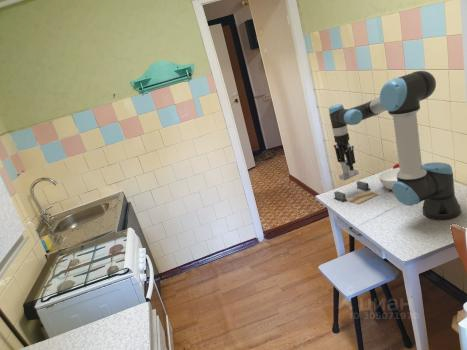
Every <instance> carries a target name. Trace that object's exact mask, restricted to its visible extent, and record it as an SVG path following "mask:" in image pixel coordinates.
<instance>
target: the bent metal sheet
mask: <svg viewBox="0 0 467 350" xmlns="http://www.w3.org/2000/svg"><path fill="white" fill-rule="evenodd" d="M341 164H342V166H341V169H342V174H339V175H338V178H339V180H343V181H346V180H349V179H351V178H353V177H355V176H357V175H359V174H360V172H359V170H357V169H354V170H353V171H354V175H353V176H351V177H350V176H349V171H348V166H347V165H348V162H347V159H345V160H344V161H342V162H341V163H340V165H341Z"/></svg>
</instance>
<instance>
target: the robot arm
mask: <svg viewBox="0 0 467 350" xmlns="http://www.w3.org/2000/svg"><path fill="white" fill-rule="evenodd" d="M436 85H437V81H436V78H435V76H433V74H432V73H430V72H428V71H425V70H418V71H417V70H416V71H413V72H410V73H407V74H404V75H402V76H398V77H394V78H392V79H391V80H389V81H388V80H387V82H385V83H384V84H383V86H382V87H381V89H380V92H379V96H378V97H376V98H374V99H372V100H370V101H367V102H365V103H362V104H360V105H356V106H354V107H350V108H346V109H345V107H344V105H343V104H342V103H338V104H334V105H331V106H330V107H329V108H328V113H329V119H330V125H331V128H332V135H333V138H334V142H335V143H336V144H333V148H334V151H335V155H336V158H337V162H338V163H340V165H341V166H340V167H342V164H341V162H342V161H344V160H347V162H348V165H347V166H348V171H349V176H350V177H351V176H353V175H354V171H353V170H355V169H354V164H356V159H355V152H354V151H355V150H354V149H355V146H354V145H350V143H349V140H350V135H349V132H348V131H349V129H348V126H356V125H359V124H360V123H361V122H362V121H365V120H366V119H370V118H372V117H376V116H378V115H380V114H382V113H384V112H387V113H388V115H390V116H391V117H392V119H393V127H394V134H395V144H396V150H397V159H398V164H399V167H400V171H399V172H398V173H397V182H395V183H394V184H393V185H392V189H391V190H392V193H393V195H394V197H395V199H397V200H398V202H399V203H401V204H402V205H404V206H407V207H410V206H414V205H417V204H419V203H421V202H423V203H422V205H423V206H422V209H421V210H422V214H423V216H424V217H425V218H427V219H431V220H439V221H441V220H442V221H444V220H445V221H446V220H451V219H454V218H457V217H458V216H460V215H461V213H462V208H461V205H460V203H459V202H458V199H457V197H456V193H455V182H454V172H453V169H452V168H453V167H452V166H451V164H448V163H446V162H437V161H435V162H427V163H422V153H421V145H420V144H421V143H420V135H419V127H418V126H419V125H418V117H417V116H418V115H417V113H418V112H419V111H420V110H421V105H420V104H421V103H420V102H421V101H424V100H426V99H427V98H429V97H430V96H431V95H433V93H434V92H435V90H436ZM353 177H354V176H353ZM351 178H352V177H351Z"/></svg>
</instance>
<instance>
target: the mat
mask: <svg viewBox="0 0 467 350" xmlns="http://www.w3.org/2000/svg"><path fill="white" fill-rule="evenodd" d="M377 196H379V193H378V192H374V191H371V190H369V191H364V192H361V193H359V194H357V195H355V196H353V197H351V198H349V199H347V202H349V203H353V204H355V205H361V204H363V203H364V202H367V201H369V200H371V199H373V198H375V197H377Z"/></svg>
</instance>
